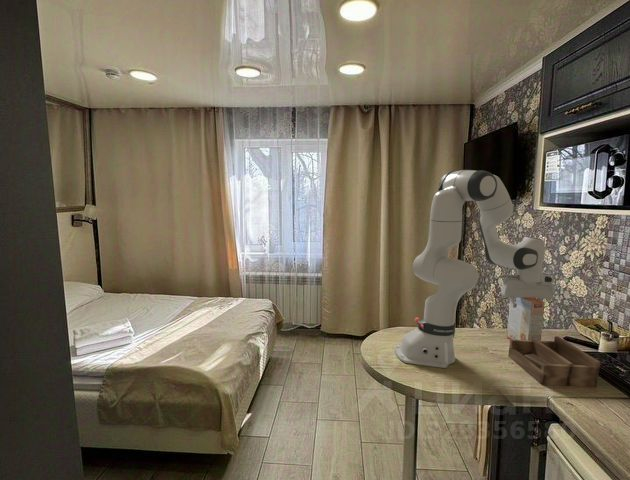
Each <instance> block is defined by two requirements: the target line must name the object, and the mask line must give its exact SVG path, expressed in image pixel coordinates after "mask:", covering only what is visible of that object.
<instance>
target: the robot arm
mask: <svg viewBox="0 0 630 480" xmlns="http://www.w3.org/2000/svg"><path fill="white" fill-rule="evenodd" d="M475 201H476V204H477V206H478V209H479V212H480V214H479V215H478V216H479V217H478V224H479V229H480V234H481V237H482V241H483V245H484V256H485V259H486V261H487V262H488V263H489V264H491V265H494V266H502V267H505V268H509V269H514V270H516V274H507V275H504V277H503V278H502V279H503V280H502V285H501V289H500V294H501V295H502V296H503V297H505V298H508V300H509V303H510V302H511V307H512V308H516V307H517V304H516V303H515V302H514V300H515V298H535V299H538V300H540V301H543V302H544V300H551V299H553V298H554V294H555V285H554V282H555V278H554V277H553V276H550V275H547V274H546V273H543V271H544V269H543V263H544V261H545V257H546V242H545V240H543V239H541V238H538V237H533V236H524V237H523V238H522V240H521V241H520V242H519V243H516V244H512V243H506V242H504V241H502V240H501V239H499V233H498V229H497V226H499V225H501V224H503V223H504V222H506V221H507V220H508V219H510V217H512V214H513V212H514V205H513V202H512V200H511V196H510V194H509V192H508V190H507V188H506V187H505V184H504V182H503V181H502V180H501V178H500V177H499V176H497V175H495V174H493V173H492V172H490V171H487V170H479V169H478V170H472V169H462V170H453V171H449V172H447V173H445V174H443V176H442V177H441V178H440V181H439V184H438V189H437V192H435V194H434V195H433V198H432V202H431V206H430V207H431V208H430V212H429V213H430V214H429V215H430V216H429V230H428V240H427V244H426V246H425V248H424V249H423V251H422V252H421V253H420V254H418V255H417V256H416V257H415V258H414V260H413V263H412V273H413V274H414V275H415V276H416V277H417V278H418V279H420V280H422V281H423V282H427V283H430V284H433V285H436V286H437V291H436V293H433V294H431V295H430V296H428V297H427V298H426V299H425V301H424V312H423V318H422V319H420V318H419V317H417V316H416V317H415V318H414V322H415V323H416V324H417V327H416V328H415V329H412V330H411V331H409V332H407V333H405V334H404V335H403V336H402V339H401V342H400V344H396V345H395V347H394V353H395V355H396V357H397V358H398V359H399V360H400V361H401V362H403V363H406V364H412V365H418V366H419V365H420V366H425V367H426V366H427V367H435V368H443V369H446V368H448V367H449V366H450V365H452V364H454V363H455V361H456V355H455V348H454V338H455V333H456V323H455V321H456V320H455V319H456V311H457V307H458V303H459V301H460V299H461V298H462V297H463V295H465V293H467V292H469V291H471V290H473V288H475V287H476V285H477V284H478V281H479V273H478V270H477V268H476V266H474V265H473V264H471V263H468V262H467V261H465V260H461V259H455V258H451V257H449V251H450V249H451V248H452V249H453V248H454V247H456V246H457V245H459V244H460V243H461V240H462V231H463V208H464V207H463V206H464V204H465V202H475Z"/></svg>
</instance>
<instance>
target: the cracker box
mask: <svg viewBox="0 0 630 480" xmlns="http://www.w3.org/2000/svg"><path fill="white" fill-rule="evenodd" d="M514 302H515V303H516V304H517V307H516V308H512V307H511V302H510V301H509V308H508V309H509V310H508V318H507V320H508V321H507V330H506V331H507V332H506V338H508V339H509V341H510V340H531V338H535V339H537V340H538V341H542V335H543V334H542V332H543V324H544V323H543V322H544V315H545V314H544V313H545V301H544V300H543V301H540V300H538V299H535V298H515V300H514Z"/></svg>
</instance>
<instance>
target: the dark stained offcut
mask: <svg viewBox="0 0 630 480" xmlns="http://www.w3.org/2000/svg"><path fill="white" fill-rule="evenodd" d="M523 356H524V357H526V358H527V359H528V360H529V361H531V362H532V363H533V364H535V365H536V366H537V367H538V368H540V369H541V367H542V364H551V363H549V362H547V361H545V360H544V359H542V358H540V357H538V356H536V355H534V354H528V355H523Z"/></svg>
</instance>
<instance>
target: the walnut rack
mask: <svg viewBox="0 0 630 480" xmlns="http://www.w3.org/2000/svg"><path fill="white" fill-rule="evenodd" d="M508 347H509V348H508V355H507V356H508V358H509V359H511V360H512V361H513V362H514V363H516V364H517V365H518V366H519V367H520V368H521V369H522V370H524V371H525V372H526V373H527V374H528V375H529V376H531V377H532V378H533V379H534V380H536V382H537V383H539V384H540V385H541V386H559V387H581V388H582V387H583V388H585V387H586V388H597V385H598V379H599V374H600V367H601V361H600V360H598V359H596V358H595V357H593V356H591V355H589V354H588V353H586V352H585V351H583V350H581V349H580V348H578V347H577V346H575V345H573V344H571V343H569V341H567V340H565V339H563V338H562V337H560V336H556V335H555V336H554V340H553V341H552V340H541V341H538V340H537V339H535V338H531V340H510V339H509V346H508ZM528 354H534V355H536V356H538V357H540V358H542V359H544V360H545V361H547V362H549V363H551V364H542V367H541V369H540V368H538V367H537V366H536V365H535V364H533V363H532V362H531V361H529V360H528V359H527V358H526V357H524V356H523V355H528Z"/></svg>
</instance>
